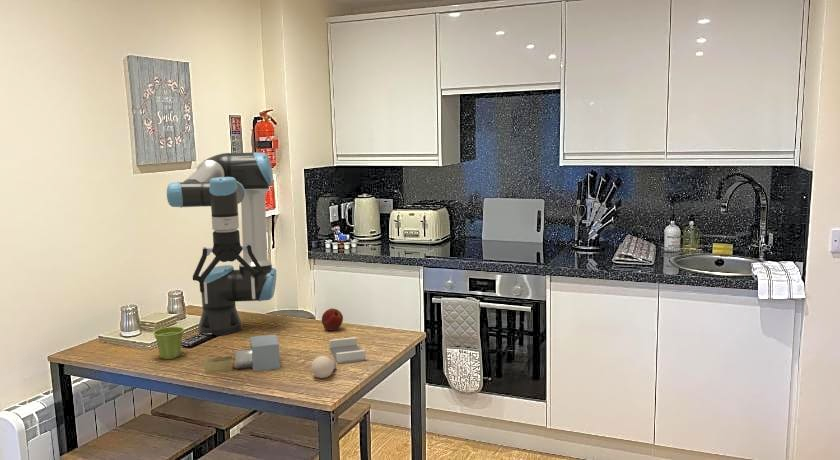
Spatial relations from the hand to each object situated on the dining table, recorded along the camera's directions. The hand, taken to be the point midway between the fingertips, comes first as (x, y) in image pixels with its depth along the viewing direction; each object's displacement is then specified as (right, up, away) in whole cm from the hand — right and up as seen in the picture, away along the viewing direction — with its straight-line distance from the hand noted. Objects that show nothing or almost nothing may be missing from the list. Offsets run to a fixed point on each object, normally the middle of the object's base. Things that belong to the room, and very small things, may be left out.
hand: (230, 300), depth 194 cm
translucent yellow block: (-5, -22, +6) cm, 24 cm away
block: (+8, -21, +10) cm, 25 cm away
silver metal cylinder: (+5, -22, +10) cm, 24 cm away
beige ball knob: (+28, -23, +2) cm, 36 cm away
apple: (+24, -16, +45) cm, 53 cm away
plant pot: (-25, -21, +19) cm, 38 cm away
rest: (+33, -20, +18) cm, 42 cm away
